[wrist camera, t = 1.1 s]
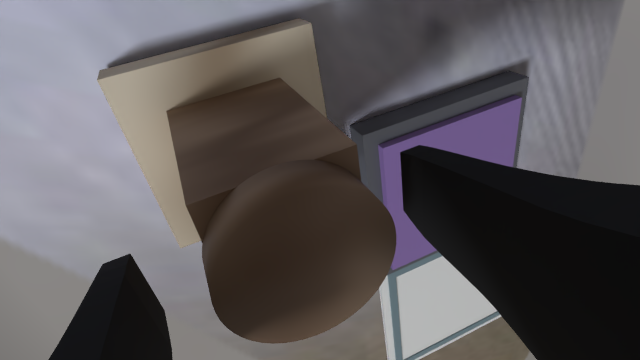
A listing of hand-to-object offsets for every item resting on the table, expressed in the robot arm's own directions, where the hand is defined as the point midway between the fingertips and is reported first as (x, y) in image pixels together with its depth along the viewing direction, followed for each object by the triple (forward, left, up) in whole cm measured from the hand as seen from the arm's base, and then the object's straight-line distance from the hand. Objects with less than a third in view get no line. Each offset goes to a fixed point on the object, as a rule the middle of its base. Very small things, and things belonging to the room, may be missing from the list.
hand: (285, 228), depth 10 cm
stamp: (0, 0, -7) cm, 7 cm away
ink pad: (-10, +6, -7) cm, 13 cm away
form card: (-11, +16, -7) cm, 21 cm away
